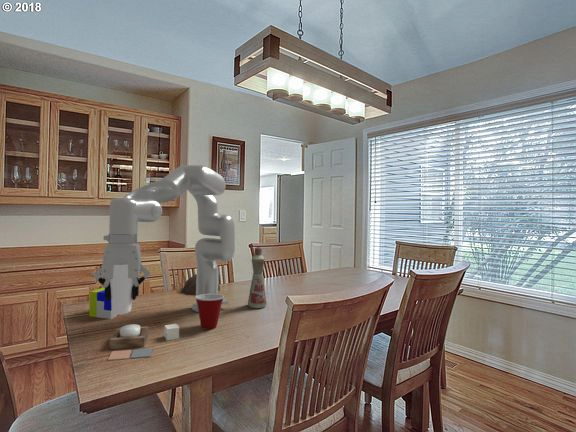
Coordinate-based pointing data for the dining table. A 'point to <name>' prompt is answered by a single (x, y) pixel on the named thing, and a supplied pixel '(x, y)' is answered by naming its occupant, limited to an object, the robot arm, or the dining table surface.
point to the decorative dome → (192, 286)
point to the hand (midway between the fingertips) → (121, 298)
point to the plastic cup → (209, 309)
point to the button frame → (129, 339)
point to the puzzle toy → (100, 305)
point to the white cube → (171, 332)
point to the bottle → (257, 282)
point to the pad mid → (141, 353)
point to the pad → (120, 355)
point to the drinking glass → (121, 290)
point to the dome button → (130, 330)
